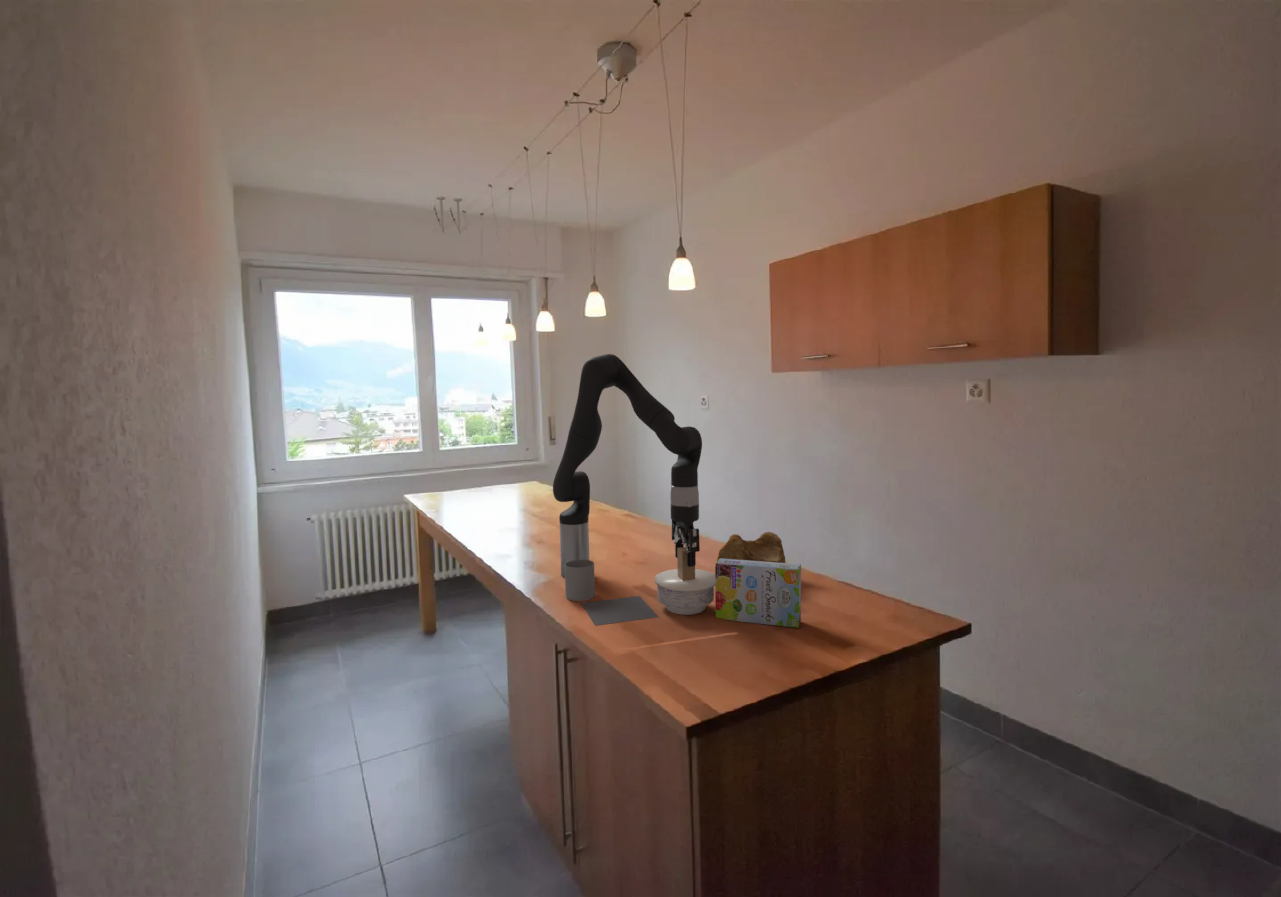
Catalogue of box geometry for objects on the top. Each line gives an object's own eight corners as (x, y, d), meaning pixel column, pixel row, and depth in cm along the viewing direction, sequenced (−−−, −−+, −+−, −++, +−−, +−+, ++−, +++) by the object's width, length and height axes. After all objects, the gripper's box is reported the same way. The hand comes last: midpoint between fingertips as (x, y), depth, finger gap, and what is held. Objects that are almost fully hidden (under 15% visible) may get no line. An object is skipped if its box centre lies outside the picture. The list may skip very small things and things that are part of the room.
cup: (590, 603, 172) (589, 568, 171) (561, 601, 173) (560, 567, 172) (598, 593, 180) (597, 560, 179) (571, 592, 182) (570, 558, 181)
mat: (581, 604, 171) (581, 603, 171) (639, 597, 176) (639, 595, 176) (595, 627, 155) (595, 625, 155) (659, 618, 160) (659, 616, 160)
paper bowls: (649, 616, 162) (648, 586, 161) (668, 597, 176) (668, 570, 175) (705, 623, 156) (704, 593, 155) (720, 603, 170) (720, 575, 169)
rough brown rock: (745, 602, 173) (750, 551, 170) (708, 582, 187) (712, 534, 184) (803, 589, 185) (809, 541, 183) (765, 571, 199) (769, 526, 197)
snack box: (801, 621, 157) (801, 563, 155) (799, 629, 151) (799, 569, 150) (719, 612, 164) (719, 556, 162) (714, 619, 159) (714, 562, 157)
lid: (646, 575, 171) (645, 544, 170) (702, 568, 176) (702, 538, 175) (667, 594, 155) (667, 560, 154) (729, 586, 160) (728, 553, 159)
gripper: (662, 498, 169) (663, 556, 170) (681, 508, 155) (681, 570, 157) (687, 496, 171) (688, 553, 173) (708, 506, 157) (708, 567, 159)
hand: (685, 561), depth 165 cm, fingers open, 8 cm apart
